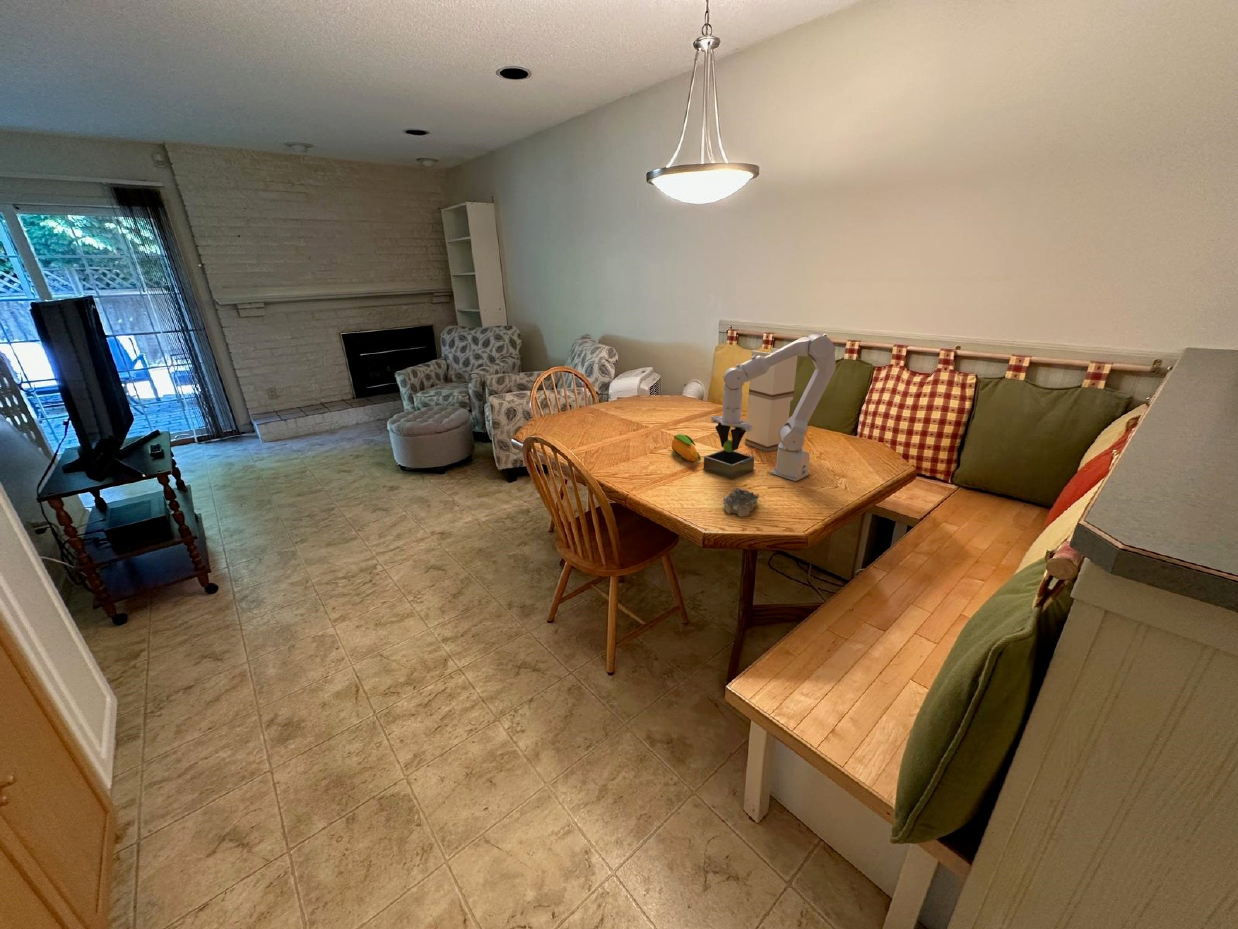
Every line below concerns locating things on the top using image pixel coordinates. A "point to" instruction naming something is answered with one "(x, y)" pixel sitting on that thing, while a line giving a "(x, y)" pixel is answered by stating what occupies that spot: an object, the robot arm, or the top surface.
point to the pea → (728, 446)
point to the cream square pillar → (770, 402)
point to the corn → (685, 448)
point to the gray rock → (740, 502)
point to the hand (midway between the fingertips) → (729, 447)
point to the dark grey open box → (728, 463)
